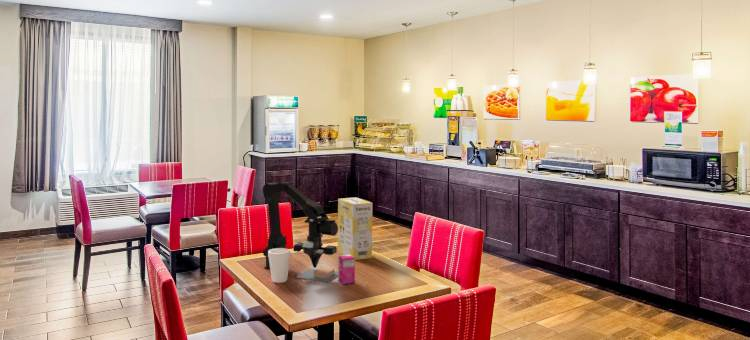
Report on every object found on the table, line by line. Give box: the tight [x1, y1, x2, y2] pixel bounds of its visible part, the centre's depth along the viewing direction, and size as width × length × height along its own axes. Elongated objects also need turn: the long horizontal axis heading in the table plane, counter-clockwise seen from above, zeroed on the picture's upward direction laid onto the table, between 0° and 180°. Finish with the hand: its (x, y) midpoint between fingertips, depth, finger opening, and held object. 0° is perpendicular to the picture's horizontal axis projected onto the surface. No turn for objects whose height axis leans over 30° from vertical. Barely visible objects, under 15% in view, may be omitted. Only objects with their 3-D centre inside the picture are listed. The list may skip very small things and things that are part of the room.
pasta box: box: [337, 196, 373, 261], centre depth 273 cm, size 18×10×28 cm, turn 28°
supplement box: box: [337, 254, 356, 286], centre depth 229 cm, size 6×6×12 cm
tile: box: [314, 266, 335, 279], centre depth 237 cm, size 2×8×6 cm
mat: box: [295, 268, 338, 283], centre depth 238 cm, size 16×14×1 cm
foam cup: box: [268, 248, 292, 284], centre depth 230 cm, size 10×9×13 cm
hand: (315, 267), depth 239 cm, fingers closed
